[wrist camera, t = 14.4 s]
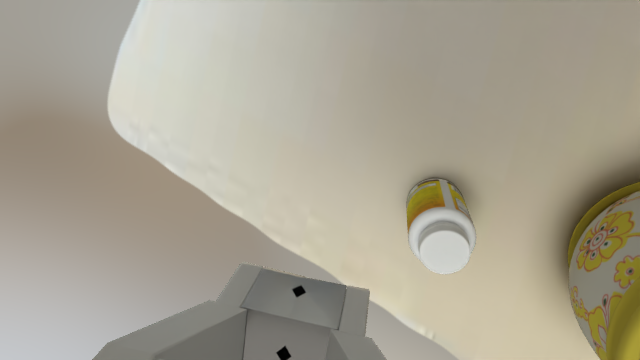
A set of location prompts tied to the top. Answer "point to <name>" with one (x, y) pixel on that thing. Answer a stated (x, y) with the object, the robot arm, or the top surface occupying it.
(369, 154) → the top surface
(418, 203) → the supplement bottle
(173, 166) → the top surface
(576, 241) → the flowerpot
